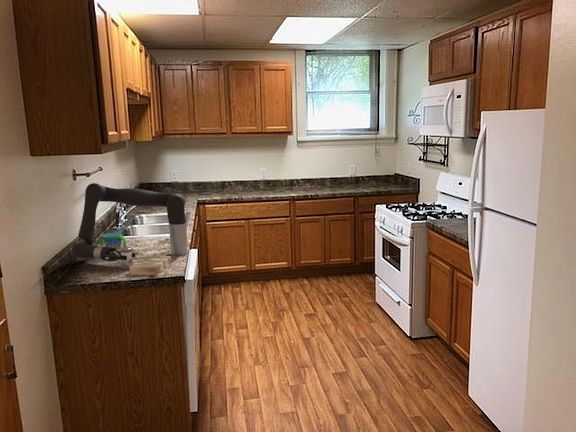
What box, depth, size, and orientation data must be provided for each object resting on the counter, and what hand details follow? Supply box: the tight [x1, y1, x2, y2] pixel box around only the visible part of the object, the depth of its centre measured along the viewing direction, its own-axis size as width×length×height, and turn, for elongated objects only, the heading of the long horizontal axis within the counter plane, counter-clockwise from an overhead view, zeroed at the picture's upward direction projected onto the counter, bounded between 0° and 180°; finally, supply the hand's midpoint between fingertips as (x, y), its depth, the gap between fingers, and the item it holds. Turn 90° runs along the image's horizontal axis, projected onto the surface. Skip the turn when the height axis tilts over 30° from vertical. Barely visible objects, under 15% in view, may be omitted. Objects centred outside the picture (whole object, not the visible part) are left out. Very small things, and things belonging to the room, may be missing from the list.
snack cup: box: [100, 232, 127, 250], centre depth 260 cm, size 16×10×10 cm
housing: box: [120, 246, 134, 270], centre depth 229 cm, size 6×6×10 cm
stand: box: [129, 255, 172, 276], centre depth 226 cm, size 18×14×4 cm
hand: (130, 256), depth 228 cm, fingers closed on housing, 5 cm apart
